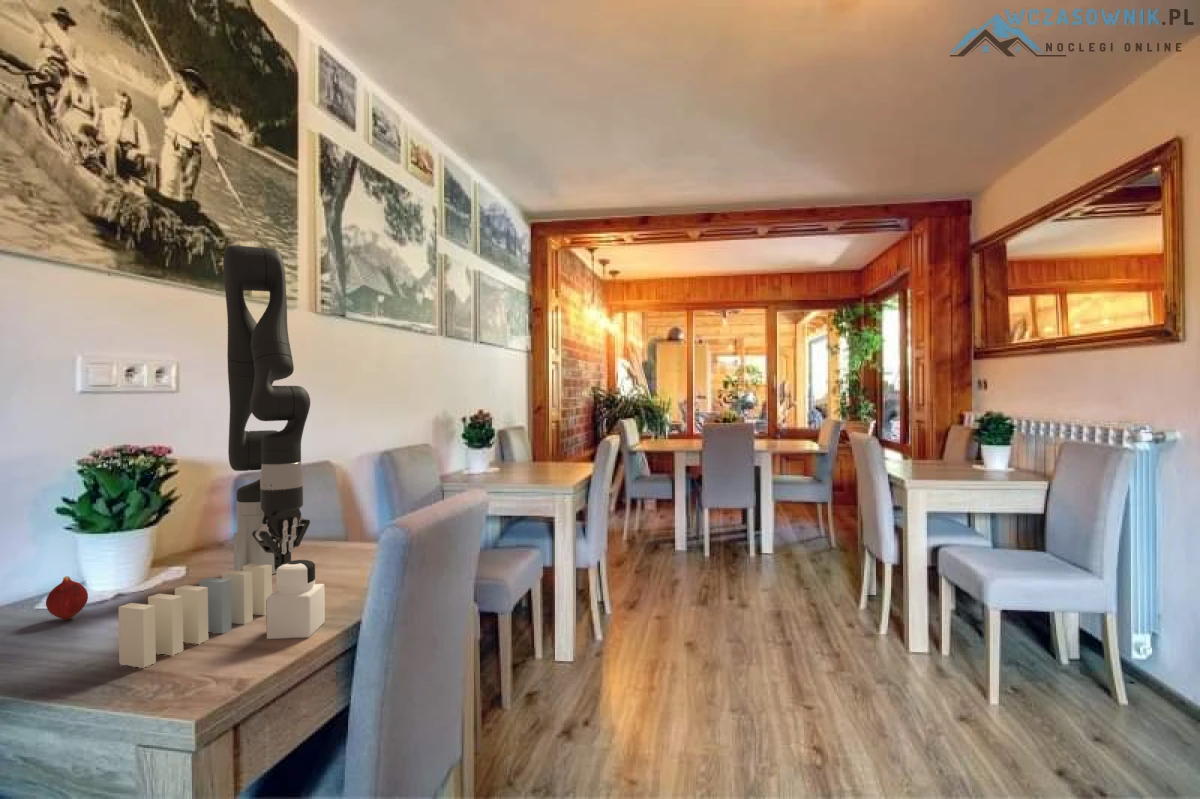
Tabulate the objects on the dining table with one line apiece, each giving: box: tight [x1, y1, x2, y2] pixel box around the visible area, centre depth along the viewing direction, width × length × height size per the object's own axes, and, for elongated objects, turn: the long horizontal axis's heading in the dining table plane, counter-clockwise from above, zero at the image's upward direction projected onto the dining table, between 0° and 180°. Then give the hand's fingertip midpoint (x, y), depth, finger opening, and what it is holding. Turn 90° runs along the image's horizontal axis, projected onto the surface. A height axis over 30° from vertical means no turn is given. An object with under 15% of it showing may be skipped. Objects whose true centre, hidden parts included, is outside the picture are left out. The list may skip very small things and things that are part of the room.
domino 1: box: [118, 602, 157, 667], centre depth 91 cm, size 5×2×9 cm, turn 75°
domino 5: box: [221, 569, 254, 626], centre depth 109 cm, size 5×2×9 cm, turn 75°
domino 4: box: [198, 576, 232, 635], centre depth 104 cm, size 5×2×9 cm, turn 74°
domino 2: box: [147, 593, 184, 656], centre depth 96 cm, size 5×2×9 cm, turn 75°
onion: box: [45, 575, 89, 621], centre depth 110 cm, size 6×6×8 cm
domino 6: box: [243, 563, 273, 617], centre depth 113 cm, size 5×2×9 cm, turn 75°
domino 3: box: [174, 584, 210, 645], centre depth 100 cm, size 5×2×9 cm, turn 75°
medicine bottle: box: [265, 559, 326, 640], centre depth 104 cm, size 7×7×12 cm
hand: (283, 571), depth 119 cm, fingers closed
